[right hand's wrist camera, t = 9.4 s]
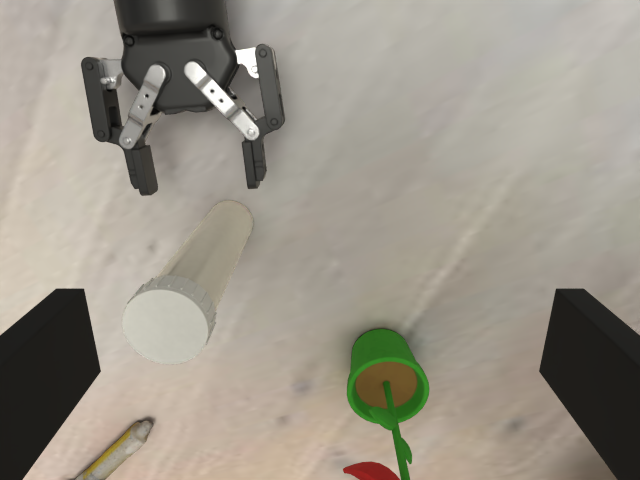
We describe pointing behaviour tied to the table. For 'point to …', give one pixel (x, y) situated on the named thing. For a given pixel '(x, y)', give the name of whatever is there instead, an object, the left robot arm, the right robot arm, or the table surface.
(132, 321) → the lid
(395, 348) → the potted flower
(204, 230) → the beige long cylinder
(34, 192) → the table surface
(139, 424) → the syringe
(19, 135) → the table surface
